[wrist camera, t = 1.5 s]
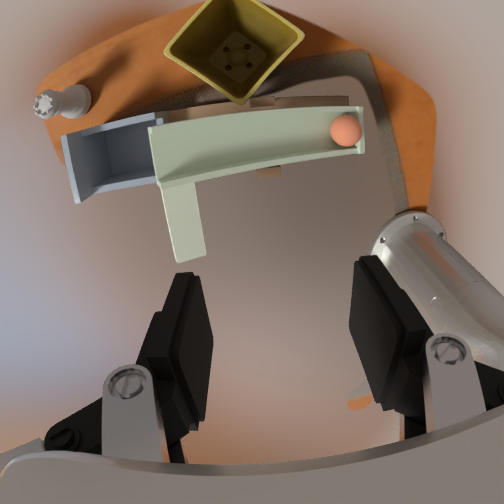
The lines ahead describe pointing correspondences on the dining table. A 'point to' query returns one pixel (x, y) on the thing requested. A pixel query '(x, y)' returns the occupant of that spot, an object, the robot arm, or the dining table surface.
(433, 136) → the dining table surface
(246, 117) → the lever
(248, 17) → the flower pot
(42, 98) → the rook chess piece
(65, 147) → the blue-grey box
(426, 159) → the dining table surface
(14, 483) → the robot arm
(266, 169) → the catapult base
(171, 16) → the dining table surface
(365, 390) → the dining table surface
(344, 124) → the ball
